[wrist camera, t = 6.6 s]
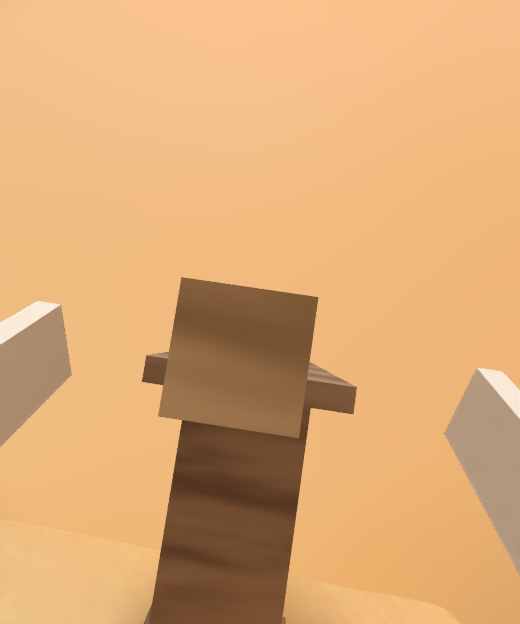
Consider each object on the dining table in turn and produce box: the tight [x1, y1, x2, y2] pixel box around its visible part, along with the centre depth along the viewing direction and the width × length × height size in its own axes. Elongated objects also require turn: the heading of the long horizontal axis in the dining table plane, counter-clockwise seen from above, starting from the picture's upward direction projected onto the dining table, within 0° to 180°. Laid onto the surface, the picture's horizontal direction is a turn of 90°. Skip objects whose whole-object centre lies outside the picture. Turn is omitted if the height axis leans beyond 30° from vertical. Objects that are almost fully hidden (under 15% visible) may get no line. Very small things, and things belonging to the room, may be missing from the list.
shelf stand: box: [142, 352, 357, 624], centre depth 28 cm, size 20×14×28 cm
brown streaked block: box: [158, 277, 318, 438], centre depth 22 cm, size 30×3×3 cm, turn 179°
